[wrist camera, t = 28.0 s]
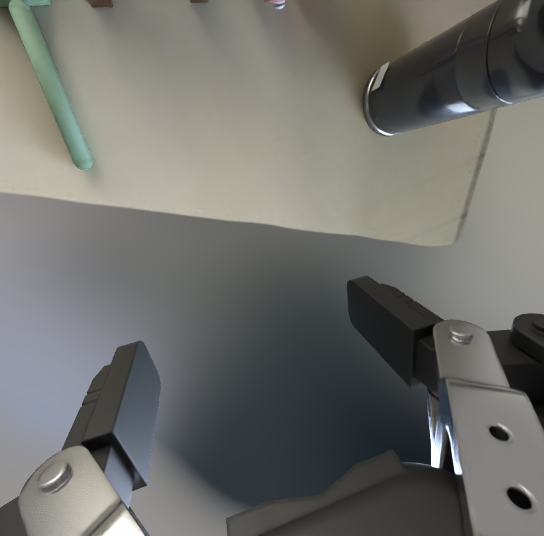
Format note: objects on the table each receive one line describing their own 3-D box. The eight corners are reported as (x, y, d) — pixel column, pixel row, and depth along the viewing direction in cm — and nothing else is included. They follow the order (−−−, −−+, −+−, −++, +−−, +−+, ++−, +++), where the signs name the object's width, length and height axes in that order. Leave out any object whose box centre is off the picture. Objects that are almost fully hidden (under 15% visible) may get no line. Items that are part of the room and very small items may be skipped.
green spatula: (112, 165, 32) (109, 164, 30) (64, 175, 30) (58, 174, 29) (17, -84, 25) (6, -103, 23) (-51, -85, 23) (-67, -106, 22)
